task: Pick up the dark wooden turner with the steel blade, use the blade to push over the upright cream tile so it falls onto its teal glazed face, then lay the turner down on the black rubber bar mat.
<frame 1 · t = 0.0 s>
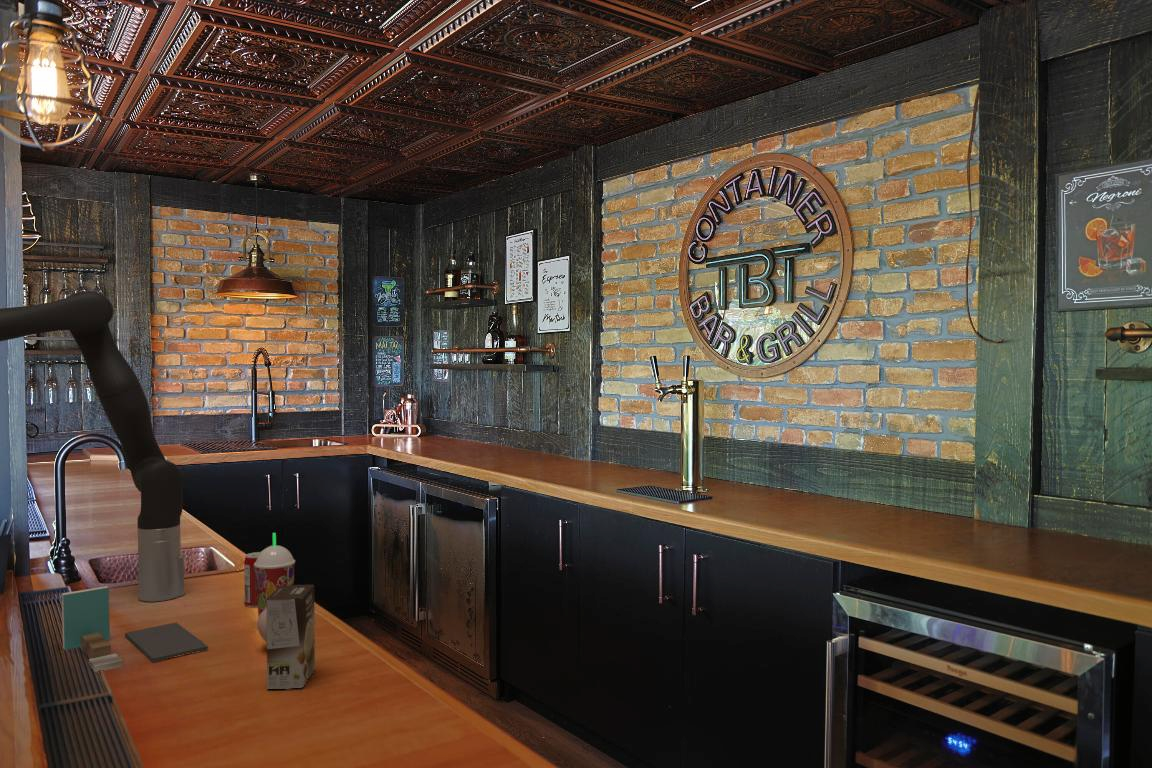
coffee box: (292, 681, 149), on the countertop
decorative fruit: (281, 649, 165), on the countertop
smoothie: (275, 626, 180), on the countertop
tile: (86, 644, 168), on the countertop
soda can: (257, 605, 195), on the countertop
turner: (96, 655, 162), on the countertop
bar mat: (165, 643, 169), on the countertop
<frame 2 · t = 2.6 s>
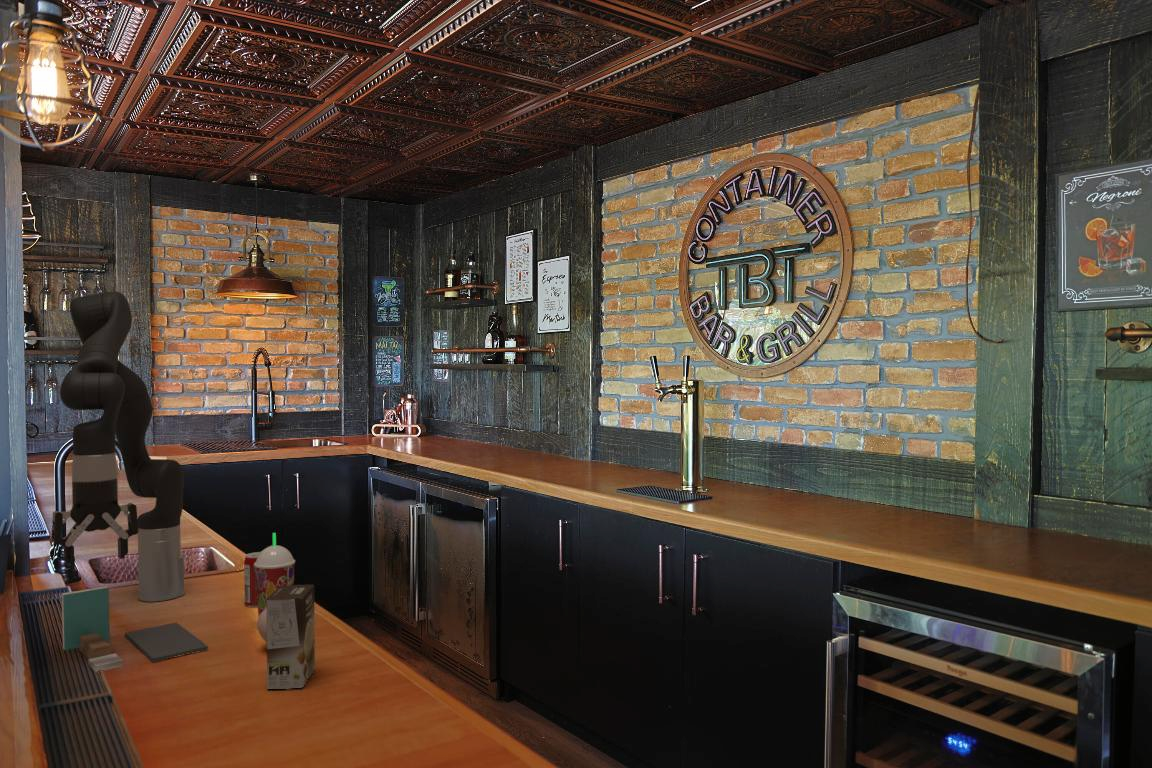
hand: (96, 561, 160), 19 cm above the countertop, tool pointing down, fingers open, 8 cm apart
nothing on the countertop moved.
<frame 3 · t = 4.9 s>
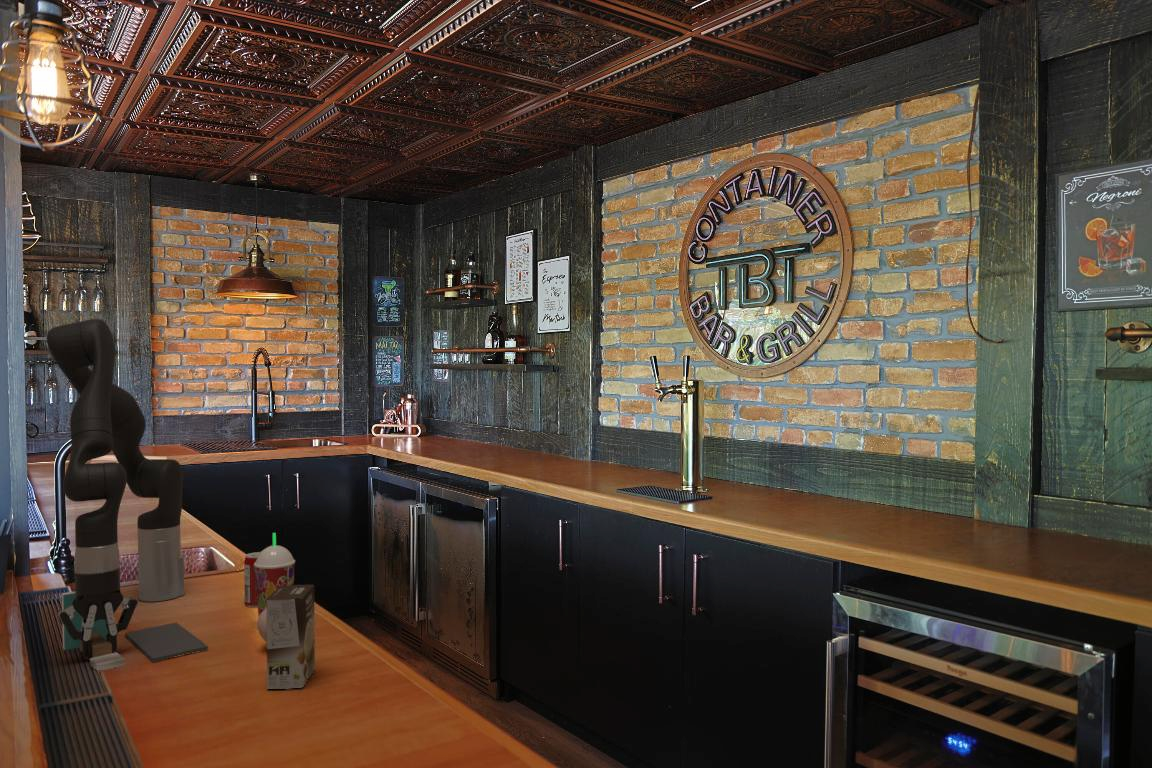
hand: (99, 655, 160), 0 cm above the countertop, tool pointing down, fingers closed on turner, 3 cm apart
turner: (95, 654, 162), on the countertop, touching gripper
everything else where it was.
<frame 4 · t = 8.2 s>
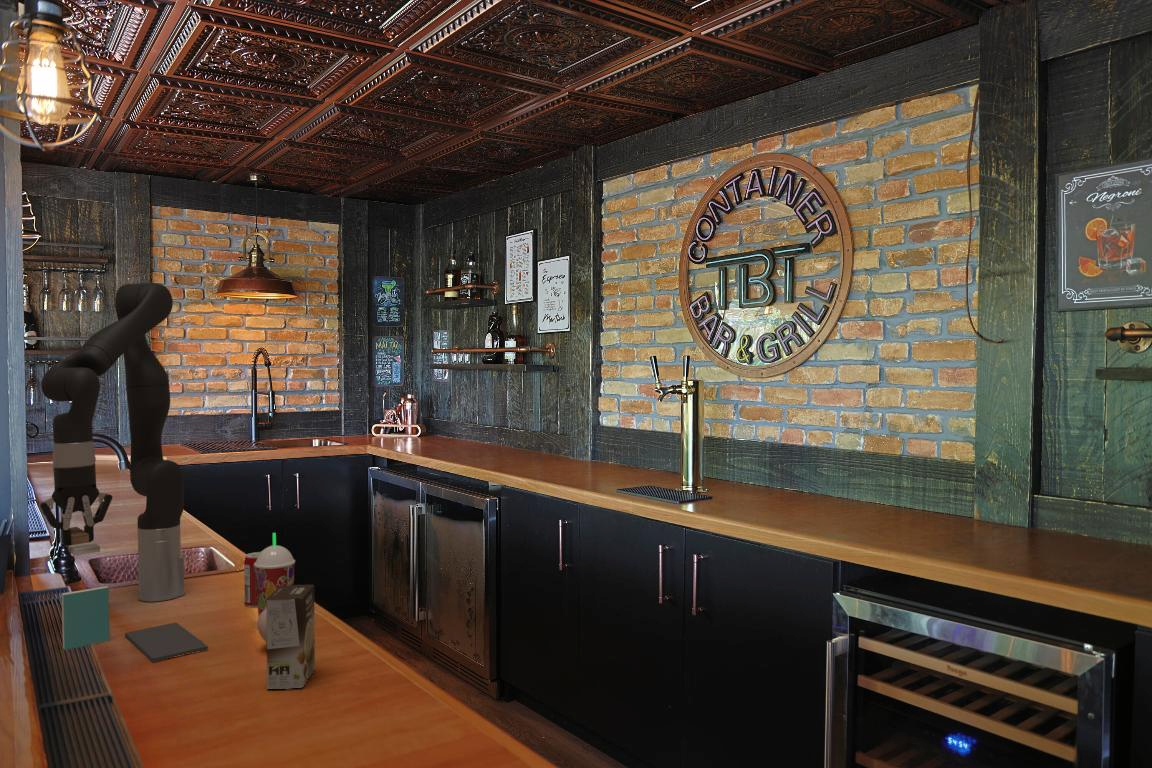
hand: (78, 544, 174), 19 cm above the countertop, tool pointing down, fingers closed on turner, 3 cm apart
turner: (75, 545, 176), point 18 cm above the countertop, touching gripper
everything else where it was.
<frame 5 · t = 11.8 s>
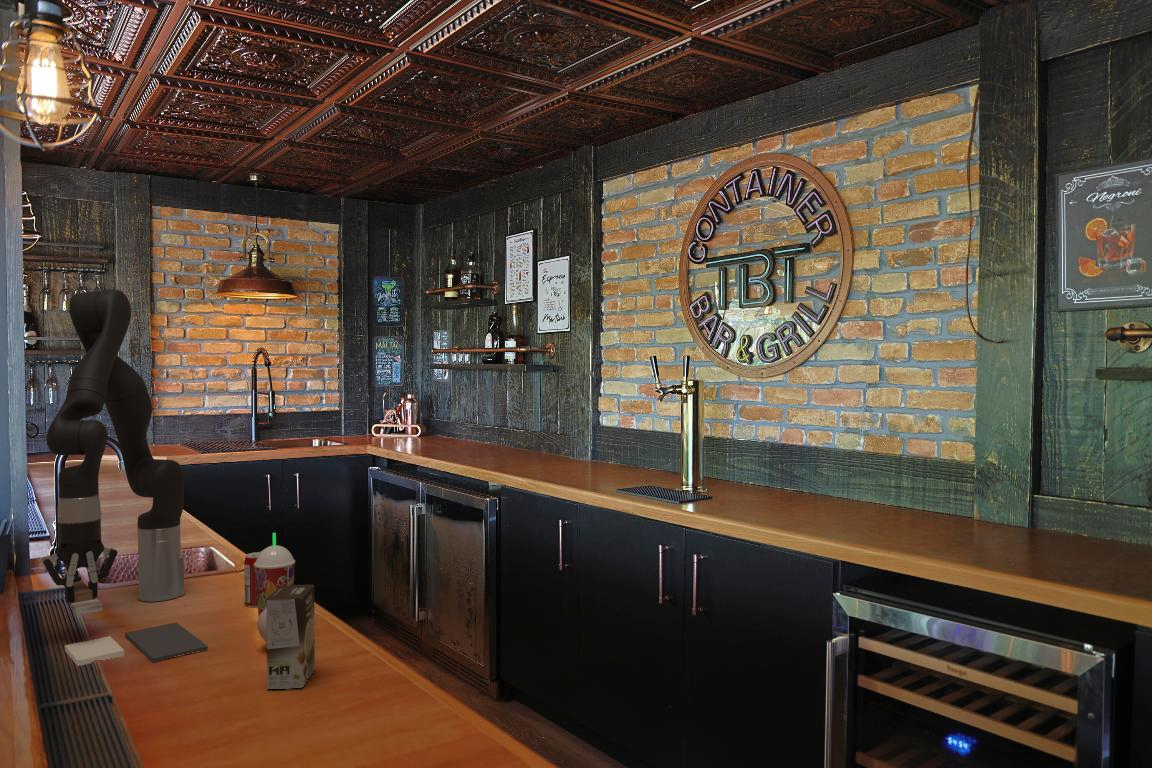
hand: (81, 601, 170), 8 cm above the countertop, tool pointing down, fingers closed on turner, 3 cm apart
tile: (87, 644, 167), on the countertop, tilted 90°
turner: (78, 601, 172), point 7 cm above the countertop, touching gripper
everything else where it was.
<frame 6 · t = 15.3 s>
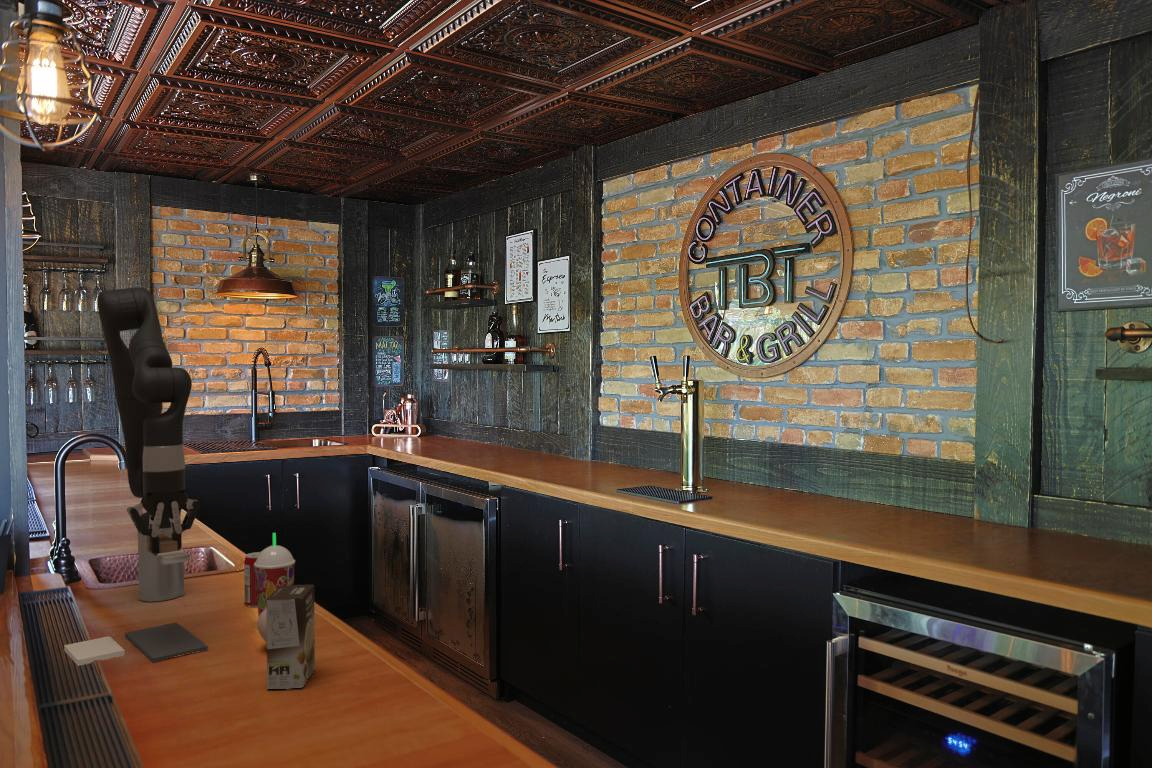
hand: (165, 553, 167), 19 cm above the countertop, tool pointing down, fingers closed on turner, 3 cm apart
turner: (162, 553, 169), point 18 cm above the countertop, touching gripper
everything else where it was.
when the fingers open (3 cm above the countertop, at t = 18.4 s): turner drops 1 cm, resting on bar mat.
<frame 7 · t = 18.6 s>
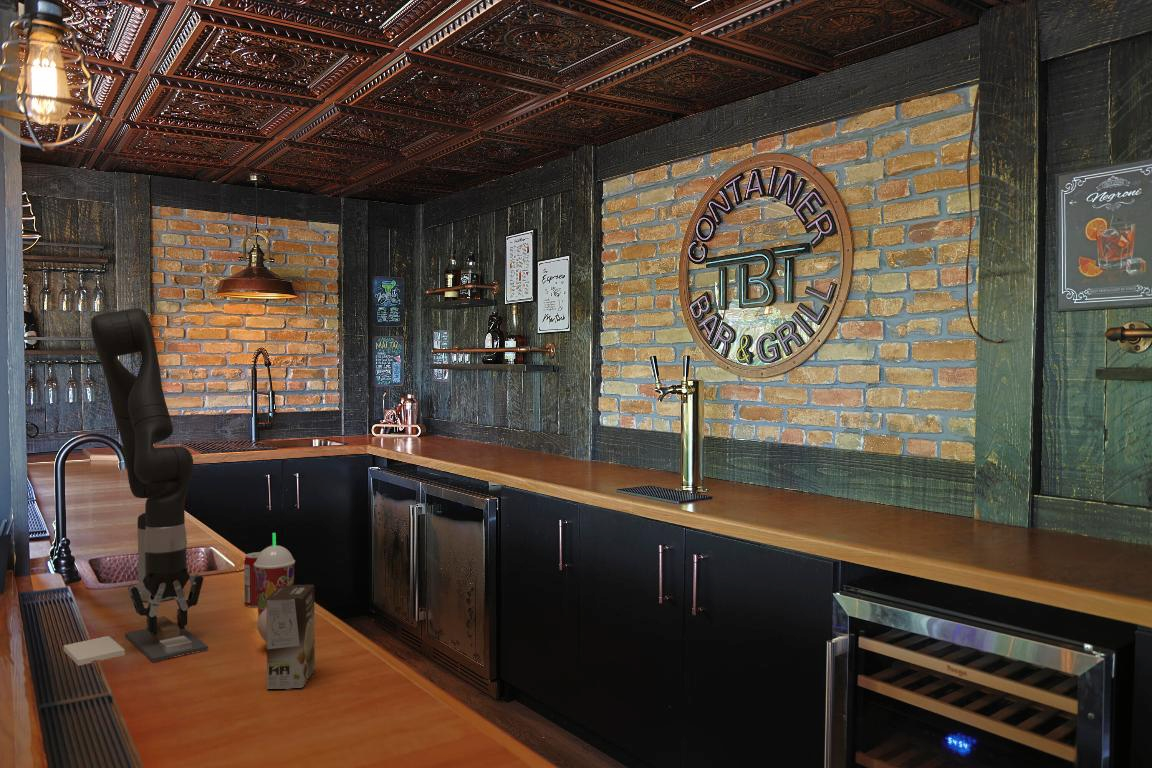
hand: (167, 630, 167), 3 cm above the countertop, tool pointing down, fingers open, 4 cm apart
turner: (164, 637, 169), point 1 cm above the countertop, touching bar mat
everything else where it was.
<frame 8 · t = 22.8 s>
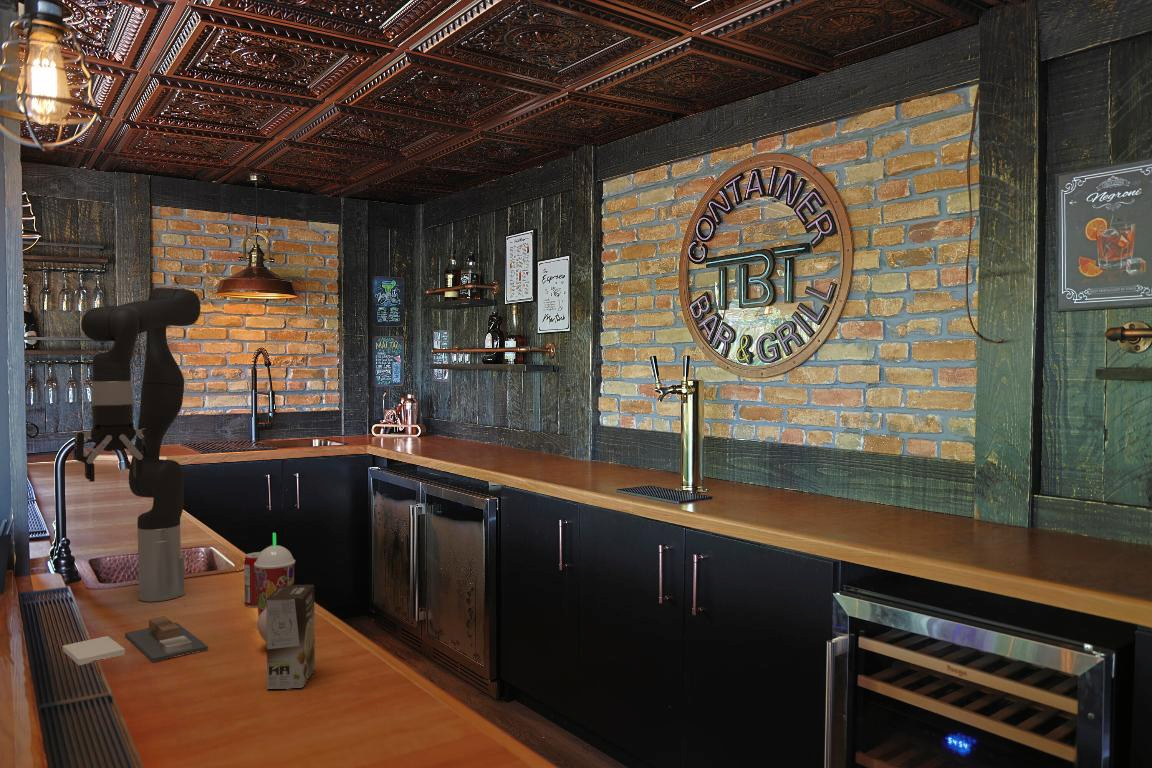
hand: (114, 479, 176), 32 cm above the countertop, tool pointing down, fingers open, 8 cm apart
nothing on the countertop moved.
at the end: tile tilted 90°; turner inside the target area on the bar mat (0.1 cm from its centre), point 0.8 cm above the bar mat's base; the gripper is holding nothing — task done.
